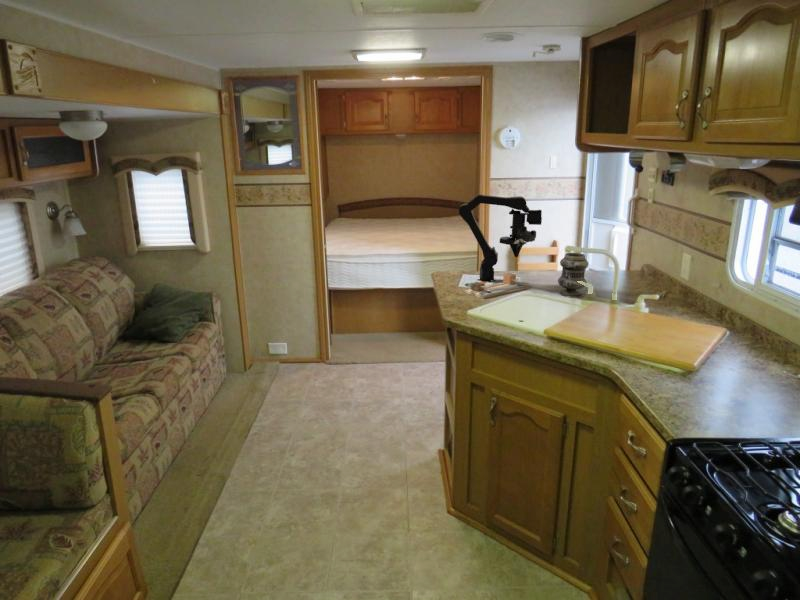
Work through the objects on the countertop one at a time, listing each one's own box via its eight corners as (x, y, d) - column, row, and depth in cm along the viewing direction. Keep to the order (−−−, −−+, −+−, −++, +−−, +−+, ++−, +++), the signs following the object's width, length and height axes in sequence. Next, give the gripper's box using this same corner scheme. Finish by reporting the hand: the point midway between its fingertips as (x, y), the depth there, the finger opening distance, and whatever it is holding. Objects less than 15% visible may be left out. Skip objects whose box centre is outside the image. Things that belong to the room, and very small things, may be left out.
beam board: (464, 292, 244) (464, 289, 243) (510, 282, 261) (510, 279, 261) (483, 298, 235) (483, 295, 234) (530, 287, 252) (530, 284, 252)
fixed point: (470, 289, 244) (471, 283, 244) (477, 288, 247) (477, 281, 246) (486, 294, 237) (486, 287, 236) (492, 292, 240) (493, 286, 239)
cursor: (503, 282, 257) (503, 274, 255) (508, 281, 259) (509, 273, 258) (518, 286, 249) (519, 278, 248) (524, 285, 252) (525, 277, 250)
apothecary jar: (570, 299, 234) (575, 258, 229) (551, 292, 244) (554, 253, 239) (591, 296, 239) (595, 255, 234) (571, 289, 250) (574, 250, 244)
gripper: (518, 228, 244) (516, 262, 248) (545, 224, 254) (542, 257, 259) (499, 225, 252) (497, 258, 256) (526, 221, 263) (524, 253, 267)
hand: (516, 257), depth 259 cm, fingers closed
